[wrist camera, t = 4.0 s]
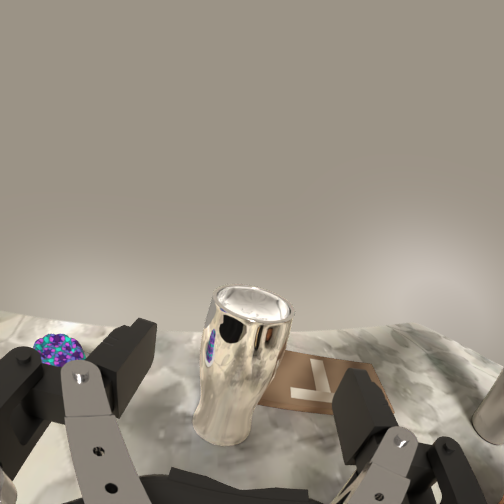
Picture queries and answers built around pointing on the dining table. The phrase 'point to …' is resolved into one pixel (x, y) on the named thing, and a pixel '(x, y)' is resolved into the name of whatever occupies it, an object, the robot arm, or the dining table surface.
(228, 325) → the beer glass
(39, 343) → the pudding
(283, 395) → the board
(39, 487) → the dining table surface
